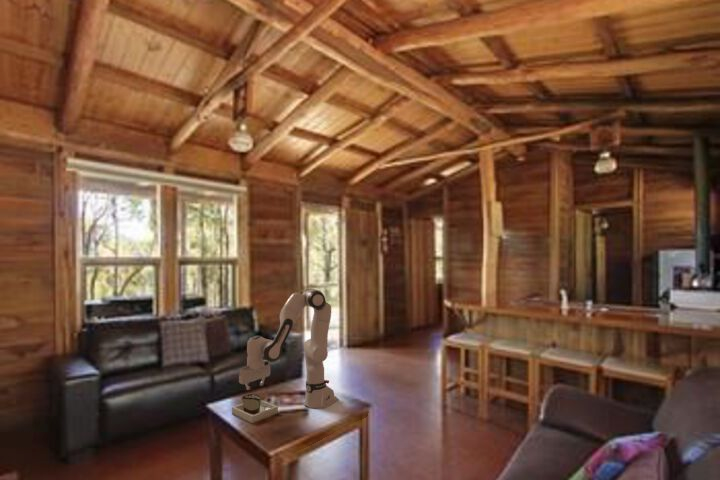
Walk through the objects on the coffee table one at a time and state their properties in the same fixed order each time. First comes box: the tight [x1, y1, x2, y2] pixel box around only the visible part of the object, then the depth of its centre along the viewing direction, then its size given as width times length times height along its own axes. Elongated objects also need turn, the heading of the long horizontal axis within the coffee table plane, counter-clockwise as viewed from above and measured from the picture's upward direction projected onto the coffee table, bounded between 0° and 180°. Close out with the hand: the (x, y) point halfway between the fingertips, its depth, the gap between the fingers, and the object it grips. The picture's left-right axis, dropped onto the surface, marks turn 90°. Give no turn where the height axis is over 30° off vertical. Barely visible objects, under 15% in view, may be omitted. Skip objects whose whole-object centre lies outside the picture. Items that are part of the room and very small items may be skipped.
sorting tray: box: [231, 400, 279, 424], centre depth 243 cm, size 18×20×4 cm
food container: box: [241, 393, 262, 415], centre depth 243 cm, size 12×6×10 cm, turn 74°
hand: (255, 387), depth 244 cm, fingers open, 8 cm apart
